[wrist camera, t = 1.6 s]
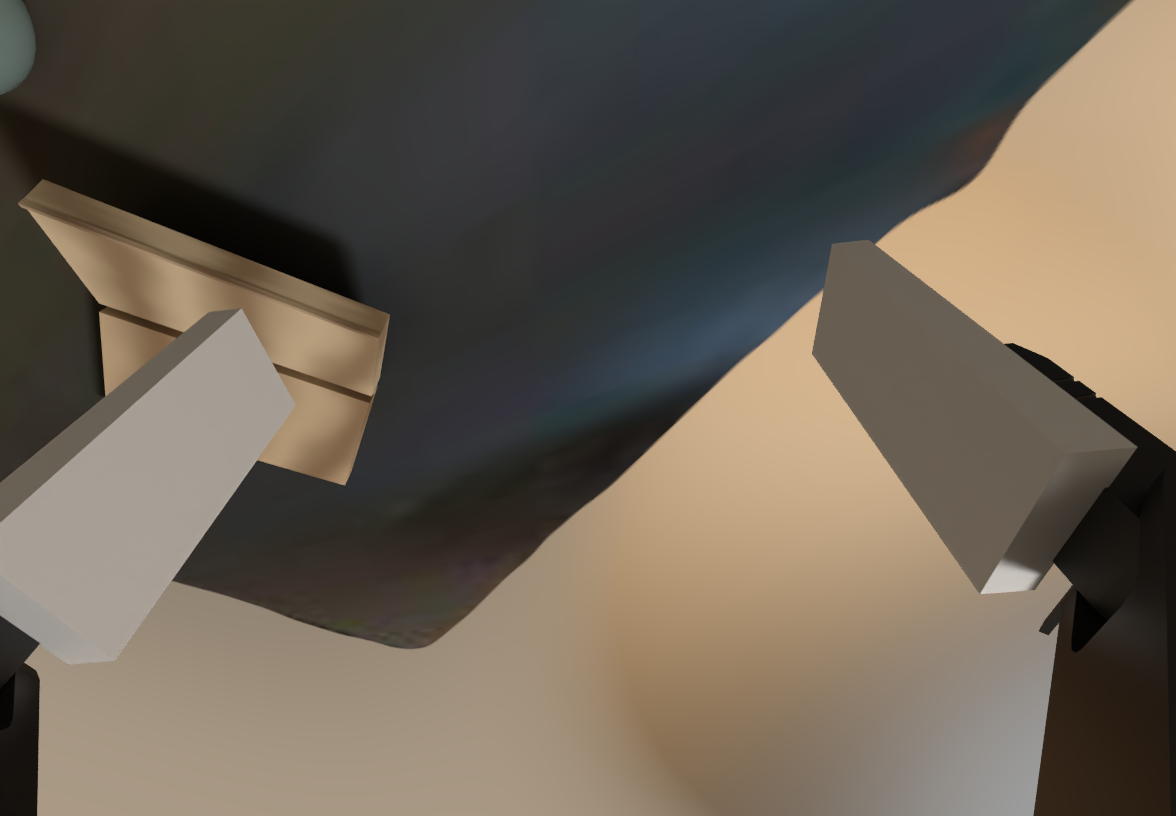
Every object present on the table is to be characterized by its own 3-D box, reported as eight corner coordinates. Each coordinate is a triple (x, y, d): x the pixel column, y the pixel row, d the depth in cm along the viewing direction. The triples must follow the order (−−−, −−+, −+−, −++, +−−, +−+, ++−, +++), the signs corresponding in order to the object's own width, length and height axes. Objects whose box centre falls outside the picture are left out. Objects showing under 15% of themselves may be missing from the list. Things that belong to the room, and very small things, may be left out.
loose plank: (113, 284, 35) (97, 305, 35) (42, 178, 27) (17, 203, 26) (379, 378, 41) (370, 398, 40) (389, 314, 32) (378, 338, 31)
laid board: (121, 403, 42) (107, 416, 40) (115, 293, 36) (98, 304, 35) (351, 472, 47) (344, 485, 46) (377, 385, 41) (371, 397, 40)
